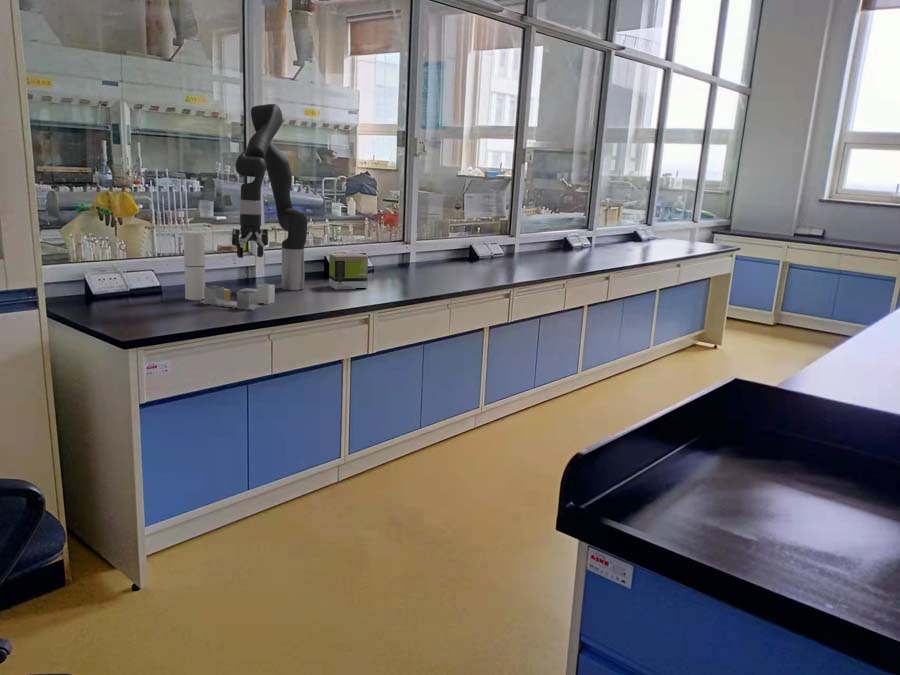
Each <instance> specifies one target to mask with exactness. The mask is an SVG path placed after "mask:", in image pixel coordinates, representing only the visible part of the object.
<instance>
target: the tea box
mask: <svg viewBox="0 0 900 675" xmlns="http://www.w3.org/2000/svg"><path fill="white" fill-rule="evenodd" d="M328 258H329V259H328V260H329V261H328V262H329V265H328V266H329V267H328V272H329V274H328V279H329V280H328V282H329V284H328V285H329V287H331V288H332V287H333V288H334V289H333V288H332V289H333V290H357V289H356V288H367V289H368V271H369V270H368V268H369V267H368V264H369V261H368V260H369V259H368V258H369V256H368V255H365V254H362V253H329V256H328Z"/></svg>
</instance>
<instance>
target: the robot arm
mask: <svg viewBox="0 0 900 675" xmlns="http://www.w3.org/2000/svg"><path fill="white" fill-rule="evenodd" d="M250 118H251V121H252V125H253V128H254V131H255V133H253V135H252V136H251V137H250V139H249V141H248V144H247V146H246V148H245V149H244V150H243V151H242V152H241V153H240V155H239V156H237V158H236V161H235V165H234V168H235V171H236V173H237V174H238V175H239V176H241V177H249V178H250V177H251V178H254V179H253V180H252V181H251V182H245V183H242V184H241V186H240V203H239V226H240V228H239V229H238V228H233V229H232V232H231V234H232V235H231V245H232V246H234V247H236V255H237V256H236V257H238V258H239V259H243V258H244V245H245V244H246V243H247V242H254V243H256V245H257V248H256V253H257V254H256V256H257V258H263V256H264V247H265V246H269V234H268V229H267V228H261V226H262V203H261V201H262V200H261V198H262V197H261V196H262V194H261V193H262V185H263V181H264V178H265V174H266V173H267V176H268V177H267V178H268V179H269V183H270V186H271V190H272V196H273V197H274V198H273V199H274V203H275V210H276V215H277V216H276V217H277V221H278V224H279V226H280V228H281V229H282V230H284V231H285V232H287V238H285V239H284V240H282V242H281V289H282V290H286V289H287V291H300V289H302V290H304V289H303V288H305V273H306V272H305V245H306V242H307V236H308V235H307V234H308V218H307V216H306V215H307V214H305V212H304V211H302V210H298V209H294V206H293V203H292V200H291V189H292V182H293V174H292V171H291V170H292V169H291V167H290V163H289V159H288V158H287V157H286V156H285V154H284V153H283V152H282V151H281V150H280V148H278V147H277V146H276V145H275V143H274V142H273V141H272V140H273V139H274V138H275V137H276V134H277V133H278V132H279V130H280V128H281V127H282V124H283V113H282V109H281V108H280V106H279V105H278V104H275V103H267V104H261V105H255V106H252V107H251V109H250Z"/></svg>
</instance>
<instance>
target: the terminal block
mask: <svg viewBox="0 0 900 675" xmlns="http://www.w3.org/2000/svg"><path fill="white" fill-rule="evenodd" d="M224 291H225V300H227V301H231V289H229V288H225V287H224Z"/></svg>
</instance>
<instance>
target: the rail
mask: <svg viewBox="0 0 900 675" xmlns="http://www.w3.org/2000/svg"><path fill="white" fill-rule="evenodd" d="M224 288H225V286H218V285H209V286H205V287H204V297H205V299H204V300H199V303H200V304H202V303H203V304H202V305H208V304H210V306H215V305H217V307H222V306H224V307H223V308H228V307H232V308H231V309H235V308H238V309H237V310H242V309H244V310H243V311H248V310H253V311H256V310H255V309H257V310H259V309H258V308H260V309H262V305H260V304H258V303H257V292H255V291H249V290H243V291H239V290H238V291H237V292H236V301H233V300H225V291H224Z"/></svg>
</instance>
